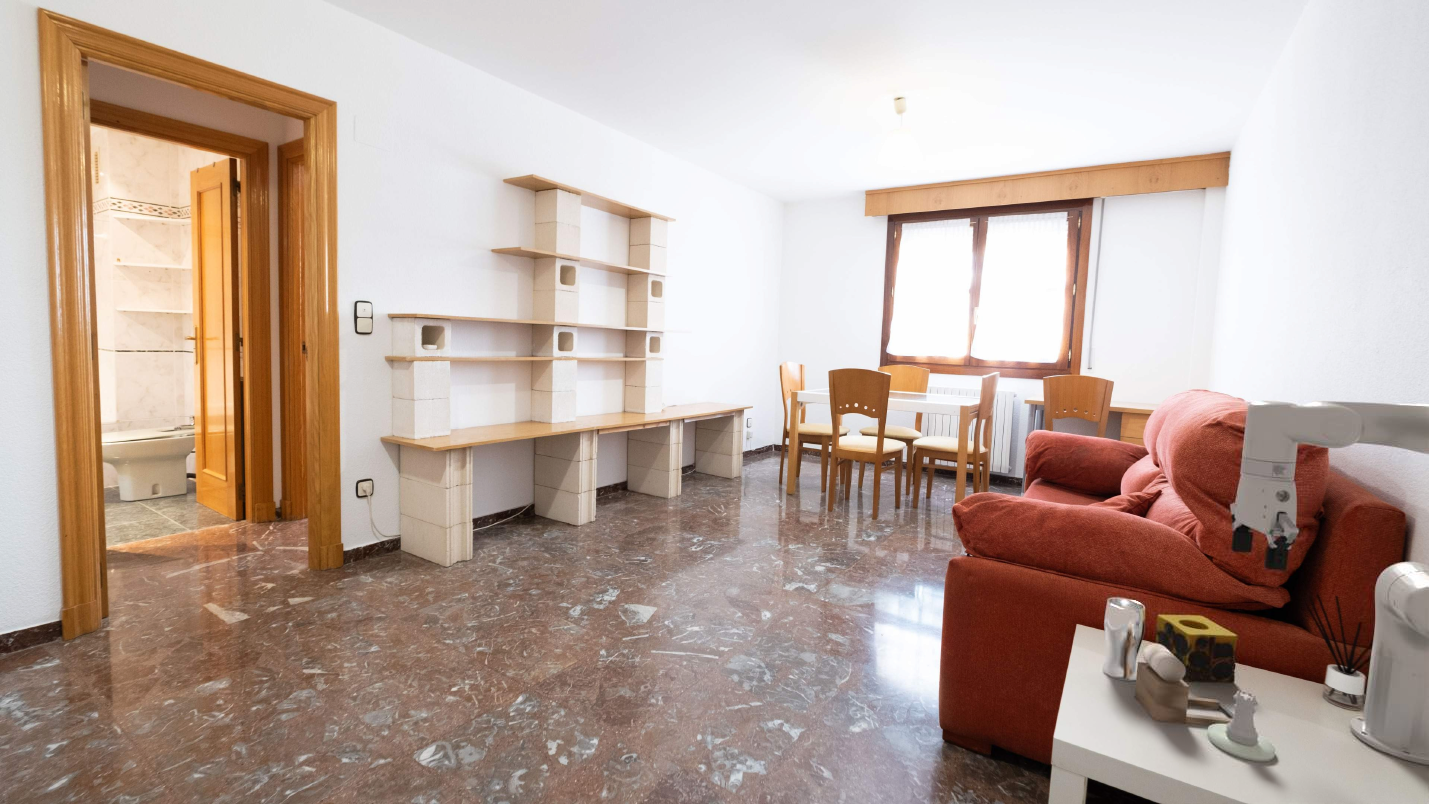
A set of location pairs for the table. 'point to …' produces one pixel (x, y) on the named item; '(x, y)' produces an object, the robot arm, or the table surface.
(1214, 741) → the pale green round disc
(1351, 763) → the table surface
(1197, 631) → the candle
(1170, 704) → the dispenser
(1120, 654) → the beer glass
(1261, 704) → the table surface
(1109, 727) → the table surface
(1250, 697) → the rook chess piece
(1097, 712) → the table surface
